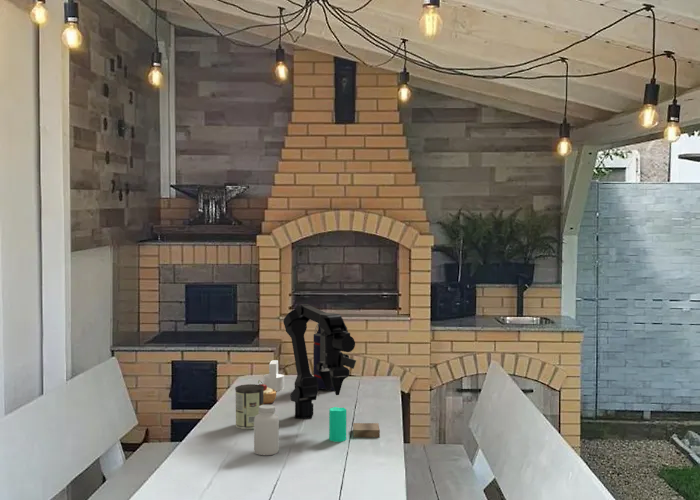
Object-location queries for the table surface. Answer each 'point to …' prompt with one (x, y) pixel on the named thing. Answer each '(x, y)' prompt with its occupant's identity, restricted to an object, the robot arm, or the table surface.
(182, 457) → the table surface
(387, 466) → the table surface
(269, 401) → the pastry
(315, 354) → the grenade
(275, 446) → the pill bottle
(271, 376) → the base with upright slab
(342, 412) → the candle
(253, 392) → the coffee can
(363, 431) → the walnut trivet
